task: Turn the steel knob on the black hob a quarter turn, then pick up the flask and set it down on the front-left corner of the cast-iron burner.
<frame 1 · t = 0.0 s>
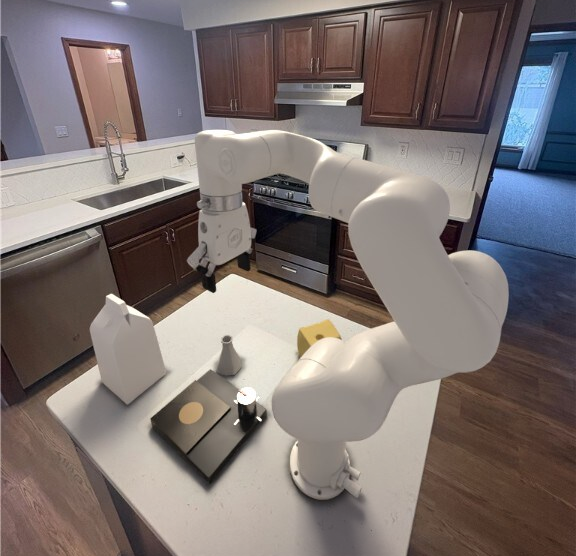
hand: (227, 279, 64), 37 cm above the kitchen island, tool pointing down, fingers open, 9 cm apart
cheese: (319, 361, 91), on the kitchen island
milk: (134, 377, 85), on the kitchen island
flask: (229, 366, 89), on the kitchen island
hob: (210, 420, 74), on the kitchen island
hob knob: (246, 402, 73), point 5 cm above the kitchen island, hinge at 0.0°
burner: (191, 414, 74), resting on hob
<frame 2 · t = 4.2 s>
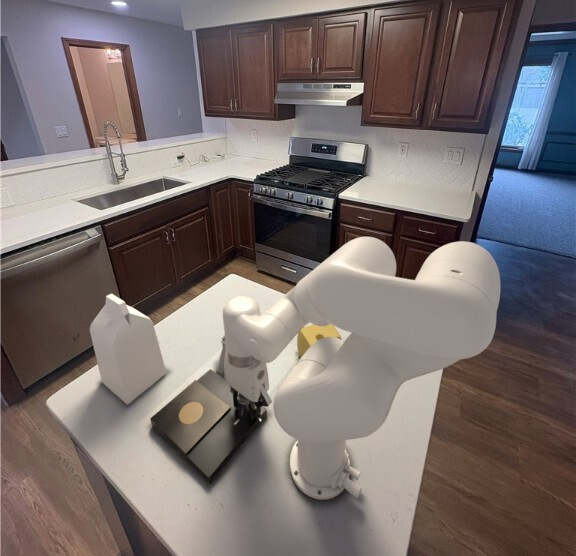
hand: (247, 408, 74), 3 cm above the kitchen island, tool pointing down, fingers closed on hob knob, 4 cm apart
hob knob: (246, 402, 73), point 5 cm above the kitchen island, hinge at 0.0°, touching gripper
everything else where it was.
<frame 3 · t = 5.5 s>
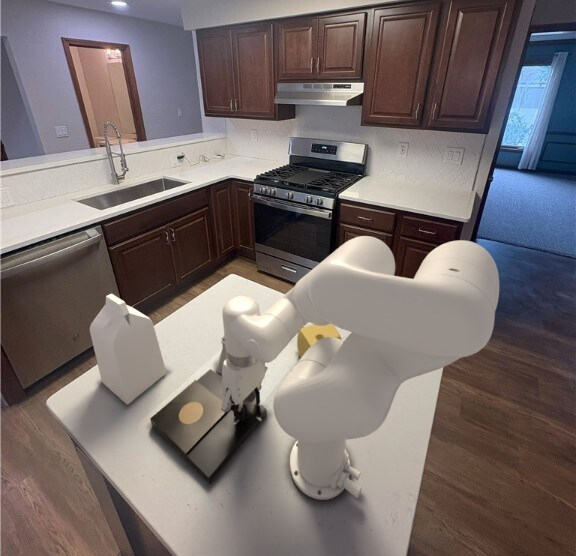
hand: (247, 408, 74), 3 cm above the kitchen island, tool pointing down, fingers closed on hob knob, 4 cm apart
hob knob: (246, 402, 73), point 5 cm above the kitchen island, hinge at 89.7°, touching gripper
everything else where it was.
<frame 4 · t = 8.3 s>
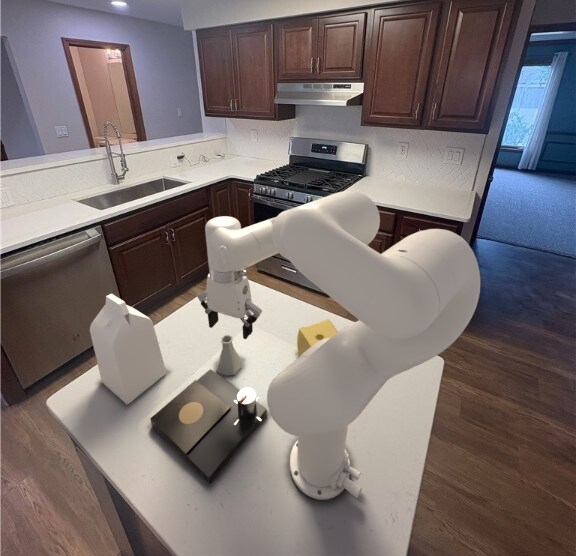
hand: (230, 329, 77), 18 cm above the kitchen island, tool pointing down, fingers open, 9 cm apart
hob knob: (246, 402, 73), point 5 cm above the kitchen island, hinge at 90.4°
everything else where it was.
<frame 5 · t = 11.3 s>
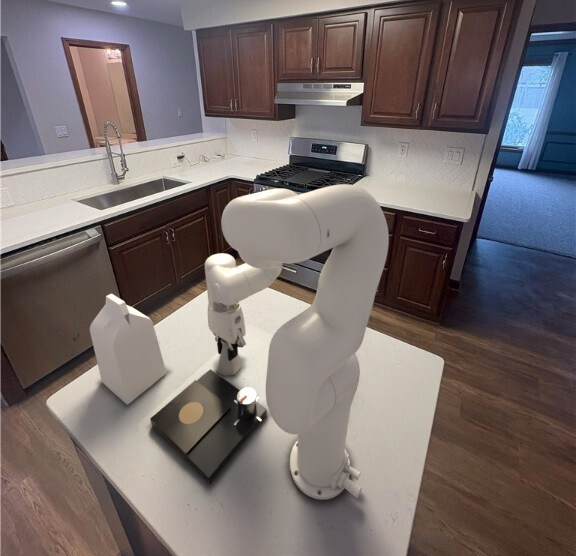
hand: (228, 353, 87), 5 cm above the kitchen island, tool pointing down, fingers closed on flask, 3 cm apart
flask: (229, 366, 89), on the kitchen island, touching gripper
everything else where it was.
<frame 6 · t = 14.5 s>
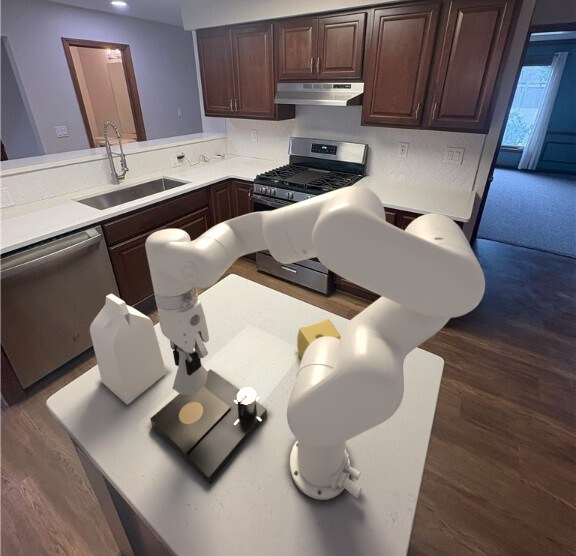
hand: (188, 365, 66), 19 cm above the kitchen island, tool pointing down, fingers closed on flask, 3 cm apart
flask: (190, 381, 68), point 14 cm above the kitchen island, touching gripper
everything else where it was.
when the fingers open (7 cm above the kitchen island, at t = 17.7 s): flask stays where it is, resting on burner.
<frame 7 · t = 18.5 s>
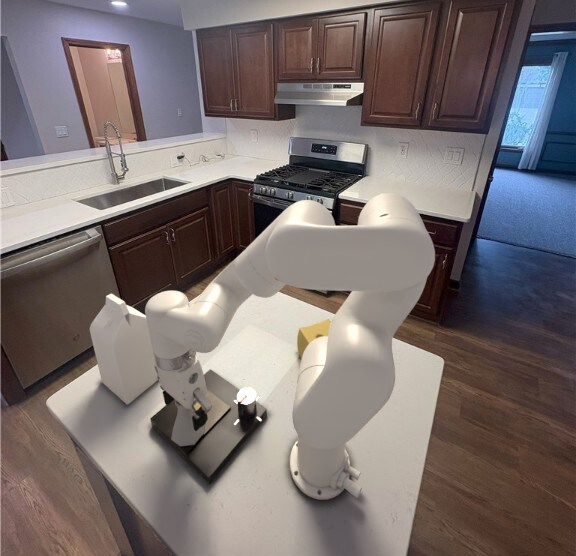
hand: (186, 411, 67), 9 cm above the kitchen island, tool pointing down, fingers open, 9 cm apart
flask: (188, 431, 69), point 2 cm above the kitchen island, touching burner
everything else where it was.
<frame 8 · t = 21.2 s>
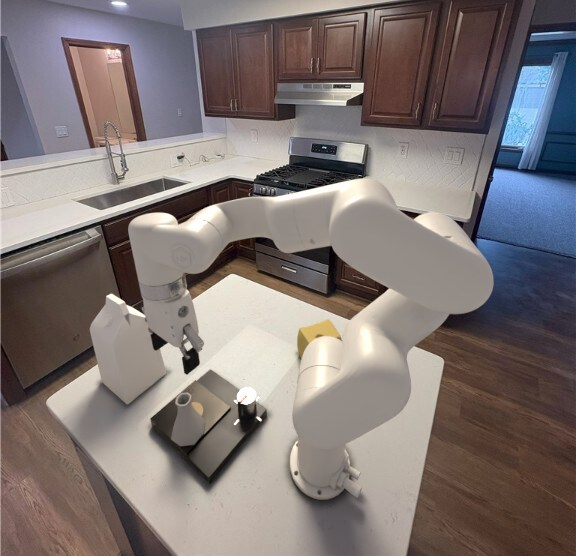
hand: (176, 357, 61), 24 cm above the kitchen island, tool pointing down, fingers open, 9 cm apart
nothing on the kitchen island moved.
at the end: hob knob at +90° (first picture: +0°); flask 0.4 cm from the target spot on the burner, point 0.4 cm above the burner's base; flask tilted 0° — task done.
